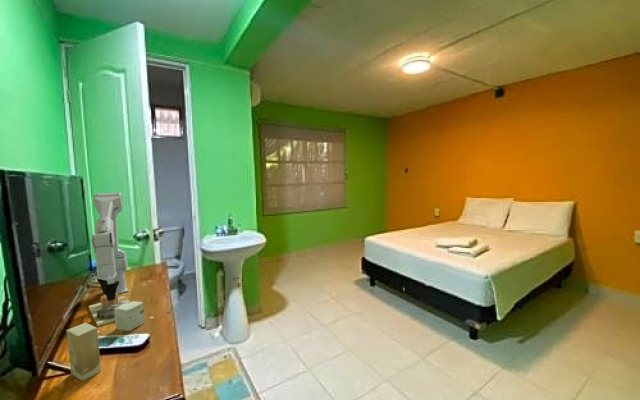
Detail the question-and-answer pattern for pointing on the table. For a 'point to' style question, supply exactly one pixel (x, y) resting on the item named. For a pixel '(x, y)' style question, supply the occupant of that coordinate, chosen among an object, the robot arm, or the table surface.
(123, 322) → the skincare box
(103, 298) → the loose gear
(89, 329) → the skincare box
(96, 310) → the gear board
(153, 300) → the table surface
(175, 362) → the table surface
